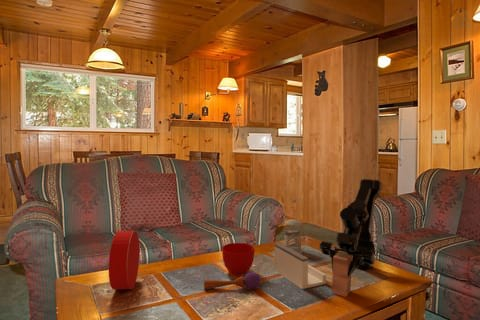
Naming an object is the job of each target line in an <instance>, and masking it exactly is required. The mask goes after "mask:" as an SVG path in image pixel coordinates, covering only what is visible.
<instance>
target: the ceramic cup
mask: <svg viewBox="0 0 480 320" xmlns="http://www.w3.org/2000/svg"><path fill="white" fill-rule="evenodd" d="M255 249H256V248H255V246H254V245H251V244H249V243H245V242H234V243H233V242H231V243H226V244H224V245H223V246H222V249H221V252H222V261H223V263H224V267H225V269H227V271H228V272H229V273H230V274H231V275H233V276H243V275H244V276H245V275H246V274H247V272H248V271H249V270H250V269H251V267H252V265H253V263H254V260H255Z"/></svg>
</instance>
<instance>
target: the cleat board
mask: <svg viewBox="0 0 480 320" xmlns="http://www.w3.org/2000/svg"><path fill="white" fill-rule="evenodd" d="M286 246H287V245H286ZM286 246H284V243H283V244H282V242H280V243H279V242H277V243H274V260H273V263H274V264H273V268H274V269H273V270H274V271H275V272H276V273H278V274H279V275H280V276H282V277H284V278H285V279H286V280H288V281H289V282H290V283H292V284H294V285H295V286H297V288H299V289H301V290H304V289H308V288H312V287H313V288H314V287H318V286H322V285H326V284H327V274H326V273H324V272H322V271H320V270H319V269H318V268H315V267H313V266H311V265H310V264H309V257H307V256H305V255H303V254H302V253H300V254H299V253H298V252H296V251H294V250H292V249H290V248H288V247H286Z"/></svg>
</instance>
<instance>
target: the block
mask: <svg viewBox="0 0 480 320" xmlns="http://www.w3.org/2000/svg"><path fill="white" fill-rule="evenodd" d="M352 258H353V256H350V255H348V252H343V251H338V253H337V254H336V255H335V256H334V257H333V272H332V277H331V278H332V282H331V294H334V295H338V296H342V297H346V298H347V296H348V295H349V294H350V293H351V286H352V285H351V284H352V274H351V275H350V276H348V271H349V268H350V265H351V262H352Z"/></svg>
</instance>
